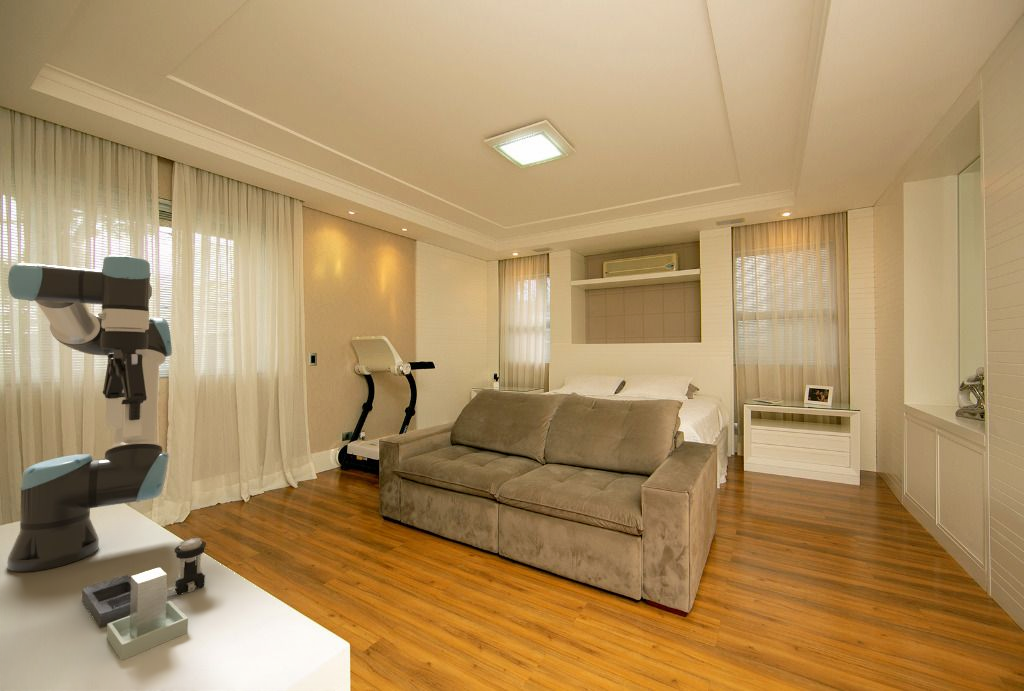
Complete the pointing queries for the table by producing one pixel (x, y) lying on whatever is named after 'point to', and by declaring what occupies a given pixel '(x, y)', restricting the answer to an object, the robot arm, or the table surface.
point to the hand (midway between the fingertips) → (122, 432)
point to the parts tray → (128, 646)
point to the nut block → (148, 602)
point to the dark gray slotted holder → (108, 600)
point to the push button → (189, 566)
